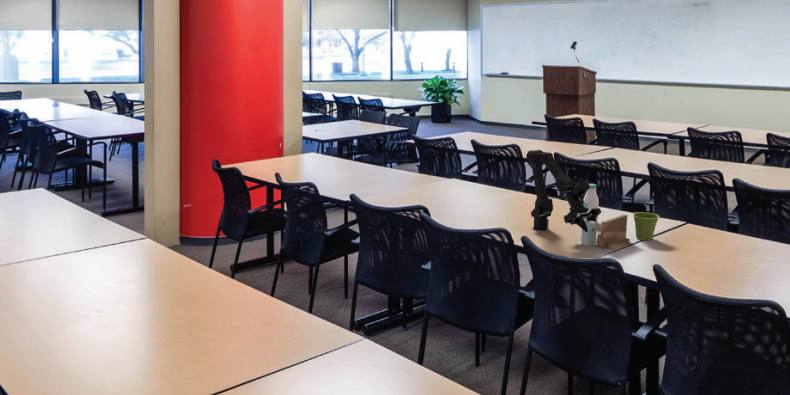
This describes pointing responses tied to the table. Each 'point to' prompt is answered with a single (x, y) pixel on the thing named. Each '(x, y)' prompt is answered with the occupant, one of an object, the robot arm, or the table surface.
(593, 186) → the milk bottle
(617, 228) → the brown angular stand
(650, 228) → the plant pot
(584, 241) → the pale blue beveled prism
